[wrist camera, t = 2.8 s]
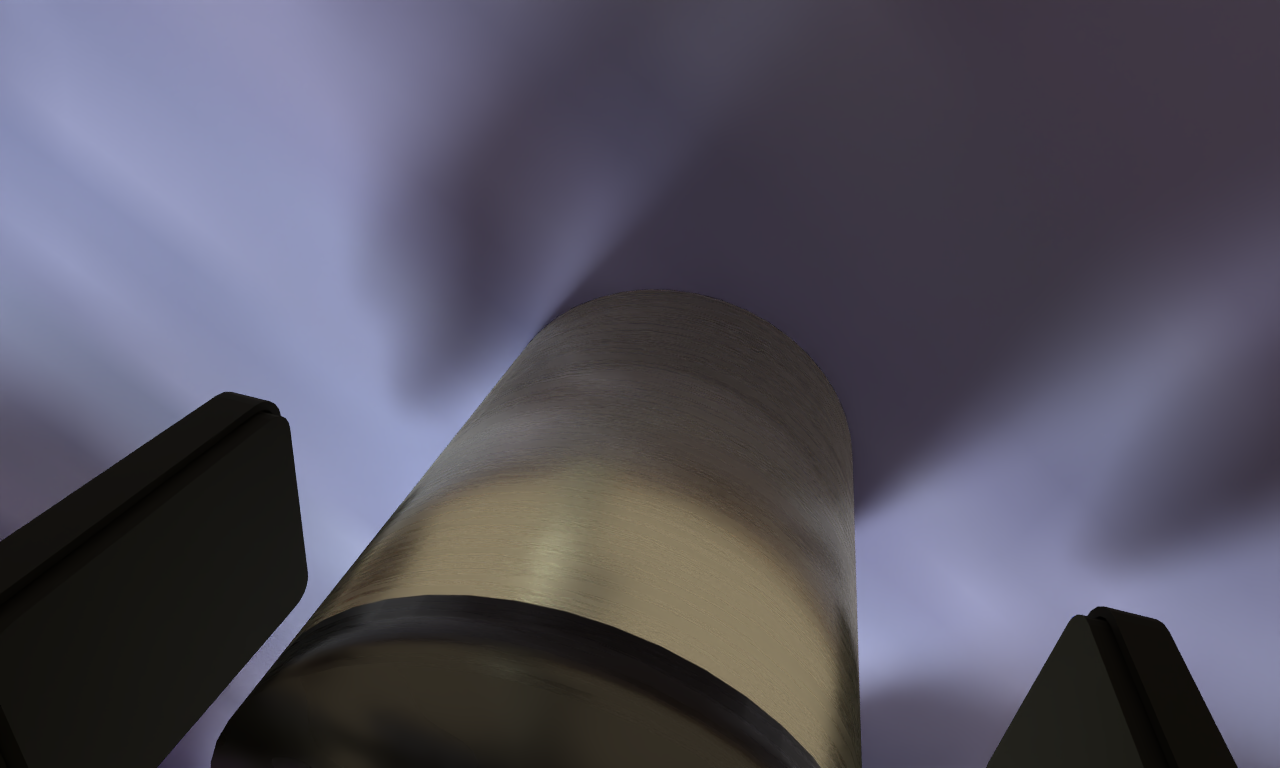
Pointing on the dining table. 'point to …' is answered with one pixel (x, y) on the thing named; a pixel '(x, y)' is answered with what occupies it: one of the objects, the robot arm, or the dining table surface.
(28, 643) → the robot arm
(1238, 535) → the dining table surface
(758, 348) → the lens
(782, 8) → the dining table surface
